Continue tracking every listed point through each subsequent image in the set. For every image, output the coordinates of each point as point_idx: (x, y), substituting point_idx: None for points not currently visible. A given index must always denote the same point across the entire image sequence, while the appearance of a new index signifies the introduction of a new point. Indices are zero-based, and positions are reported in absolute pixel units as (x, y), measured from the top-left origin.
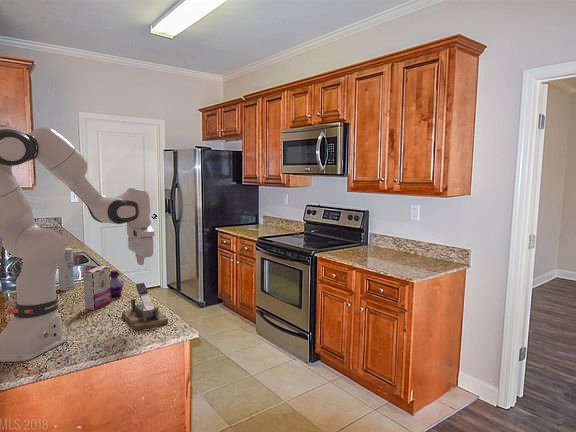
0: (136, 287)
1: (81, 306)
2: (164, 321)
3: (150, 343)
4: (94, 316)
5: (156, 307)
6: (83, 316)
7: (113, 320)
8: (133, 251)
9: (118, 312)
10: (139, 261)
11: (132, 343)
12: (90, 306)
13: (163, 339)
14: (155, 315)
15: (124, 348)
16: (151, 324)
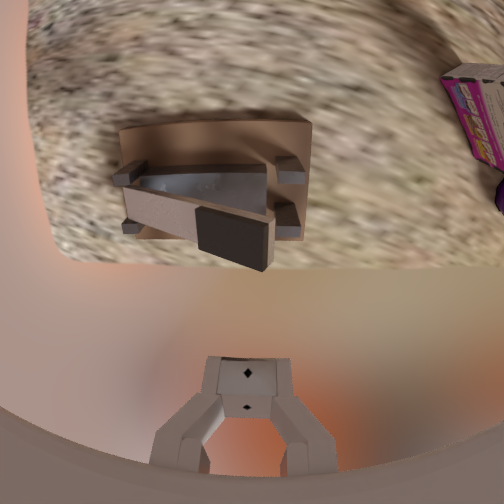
0: (259, 216)
1: None
2: None
3: (37, 151)
4: (377, 45)
5: (129, 228)
6: (399, 22)
7: (285, 80)
8: (351, 478)
9: (365, 127)
10: (203, 388)
11: (52, 108)
12: (456, 70)
13: (47, 185)
14: None
15: (37, 88)
16: None
